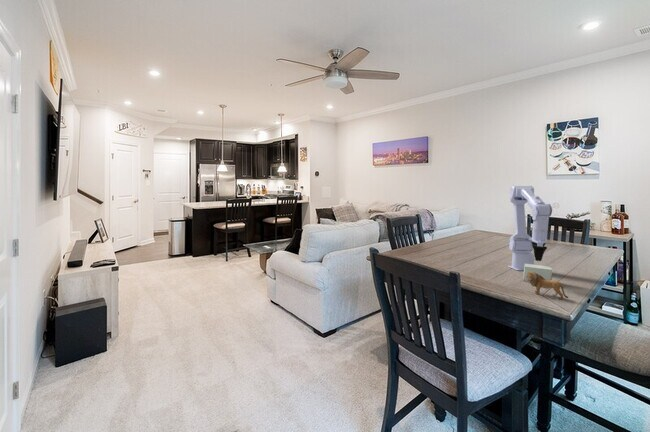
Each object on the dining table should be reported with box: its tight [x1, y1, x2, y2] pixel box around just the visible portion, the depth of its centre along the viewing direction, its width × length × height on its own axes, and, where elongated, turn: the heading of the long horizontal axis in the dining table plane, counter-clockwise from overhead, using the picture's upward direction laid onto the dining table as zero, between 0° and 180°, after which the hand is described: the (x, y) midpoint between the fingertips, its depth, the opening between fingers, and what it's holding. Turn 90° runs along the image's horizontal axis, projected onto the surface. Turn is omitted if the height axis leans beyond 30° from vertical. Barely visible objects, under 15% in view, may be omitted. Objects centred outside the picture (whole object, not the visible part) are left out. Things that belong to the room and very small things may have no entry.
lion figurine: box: [526, 272, 569, 300], centre depth 128 cm, size 15×5×9 cm, turn 53°
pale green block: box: [523, 264, 553, 283], centre depth 146 cm, size 10×8×7 cm
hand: (537, 258), depth 145 cm, fingers open, 7 cm apart
